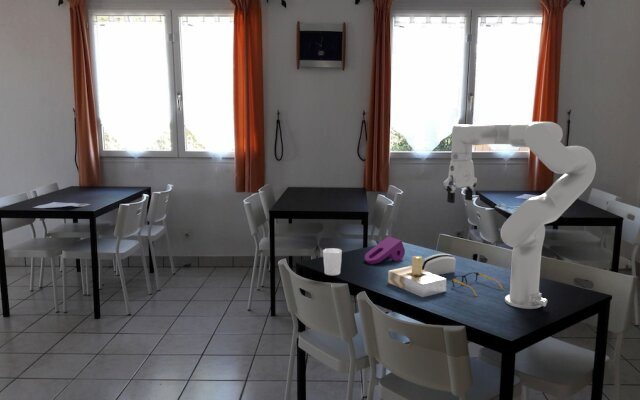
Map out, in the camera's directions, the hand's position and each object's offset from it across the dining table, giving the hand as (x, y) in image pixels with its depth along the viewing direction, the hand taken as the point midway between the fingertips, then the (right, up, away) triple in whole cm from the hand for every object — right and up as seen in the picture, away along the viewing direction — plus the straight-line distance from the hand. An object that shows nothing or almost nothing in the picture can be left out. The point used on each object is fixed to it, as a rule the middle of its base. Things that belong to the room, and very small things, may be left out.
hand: (459, 201), depth 202 cm
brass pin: (-16, -34, +2) cm, 37 cm away
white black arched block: (-5, -31, +18) cm, 36 cm away
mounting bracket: (-25, -28, +39) cm, 54 cm away
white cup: (-49, -31, +21) cm, 61 cm away
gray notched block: (-14, -34, -2) cm, 37 cm away
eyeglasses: (+7, -34, +1) cm, 35 cm away
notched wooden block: (-19, -33, +6) cm, 39 cm away
